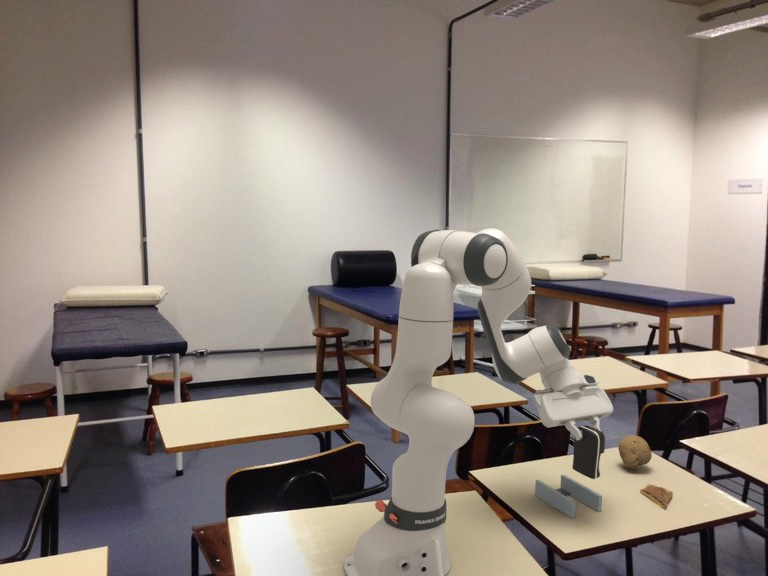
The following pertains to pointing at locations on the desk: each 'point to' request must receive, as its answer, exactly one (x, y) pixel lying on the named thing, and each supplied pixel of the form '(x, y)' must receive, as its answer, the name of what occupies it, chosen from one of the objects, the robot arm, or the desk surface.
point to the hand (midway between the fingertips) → (589, 437)
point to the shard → (657, 494)
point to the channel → (568, 488)
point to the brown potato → (634, 451)
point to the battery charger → (588, 452)
